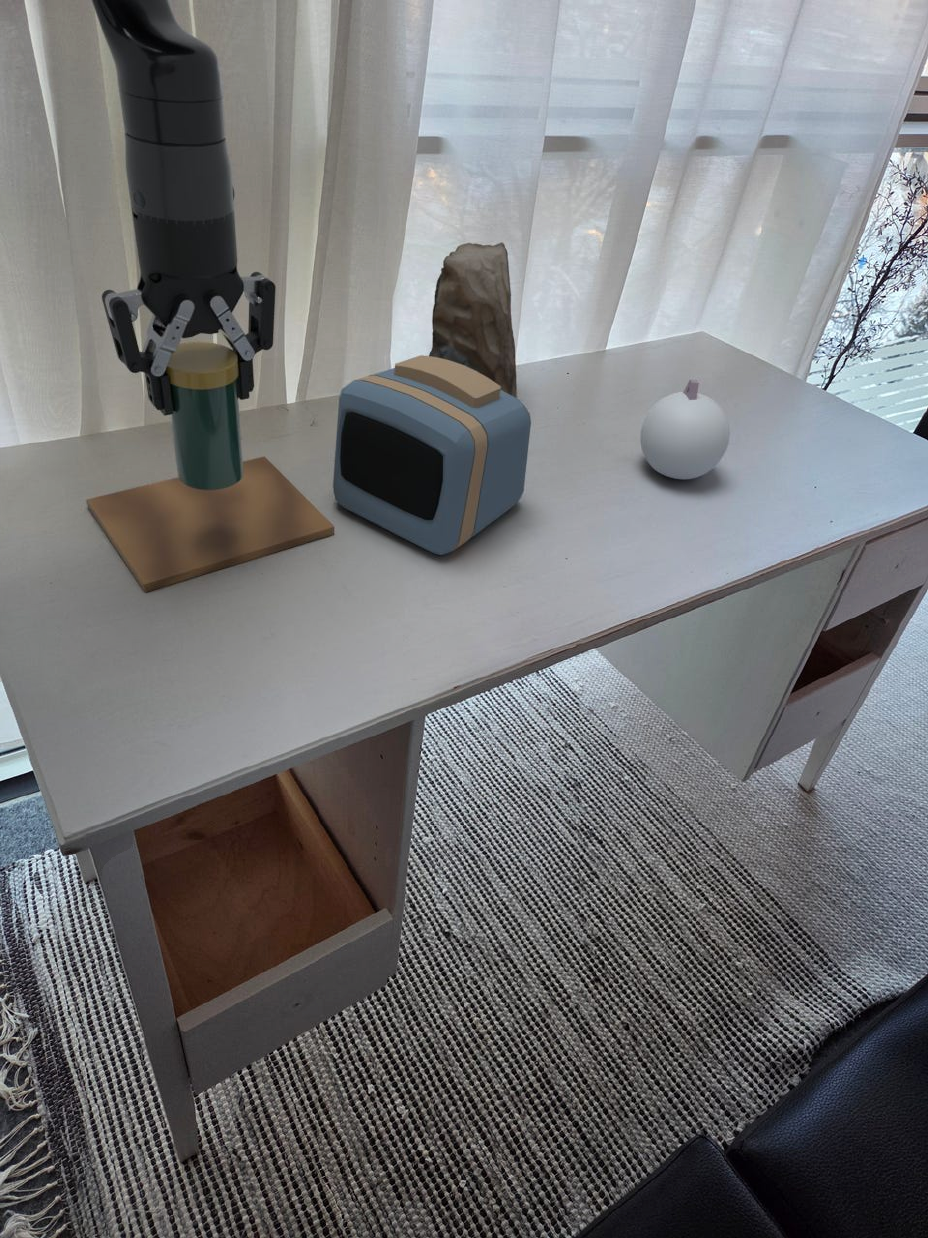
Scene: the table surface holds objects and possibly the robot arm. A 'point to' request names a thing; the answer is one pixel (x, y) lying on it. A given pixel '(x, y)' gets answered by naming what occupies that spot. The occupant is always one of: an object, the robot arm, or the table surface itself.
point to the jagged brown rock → (476, 313)
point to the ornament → (685, 434)
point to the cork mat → (206, 524)
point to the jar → (206, 415)
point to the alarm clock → (430, 451)
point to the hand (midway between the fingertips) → (203, 402)
